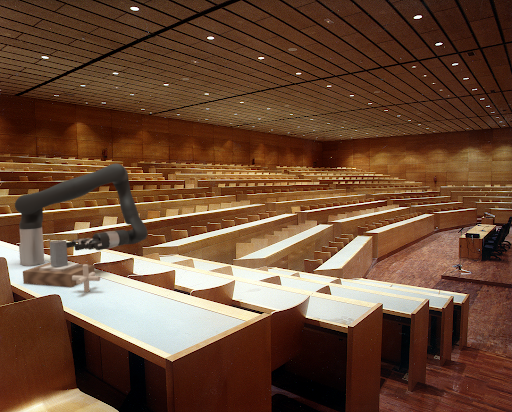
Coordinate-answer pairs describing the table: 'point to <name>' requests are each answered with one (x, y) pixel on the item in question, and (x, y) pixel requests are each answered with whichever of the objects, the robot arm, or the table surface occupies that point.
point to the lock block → (58, 253)
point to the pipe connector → (86, 278)
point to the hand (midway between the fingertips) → (69, 246)
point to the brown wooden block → (55, 274)
